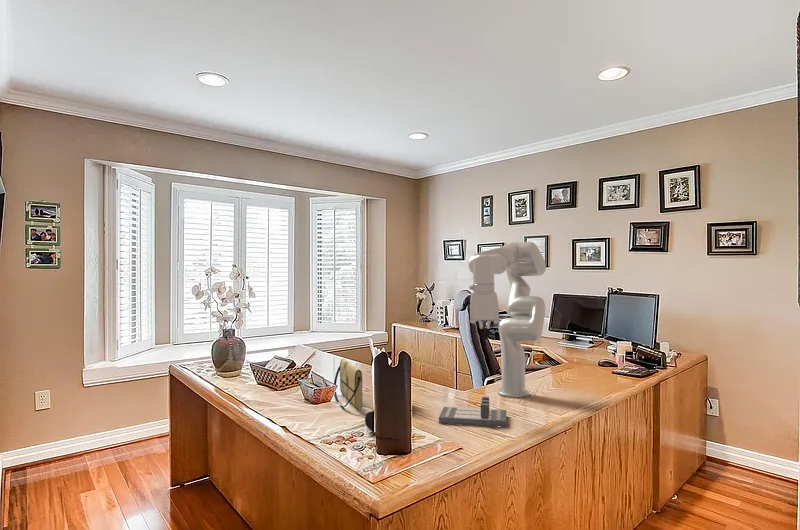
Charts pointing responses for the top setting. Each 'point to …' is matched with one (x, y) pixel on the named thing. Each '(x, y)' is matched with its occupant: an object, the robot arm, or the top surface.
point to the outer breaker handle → (484, 410)
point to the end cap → (370, 420)
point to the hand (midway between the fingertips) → (485, 339)
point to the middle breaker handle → (487, 403)
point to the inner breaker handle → (485, 398)
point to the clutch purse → (350, 383)
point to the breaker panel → (472, 416)
